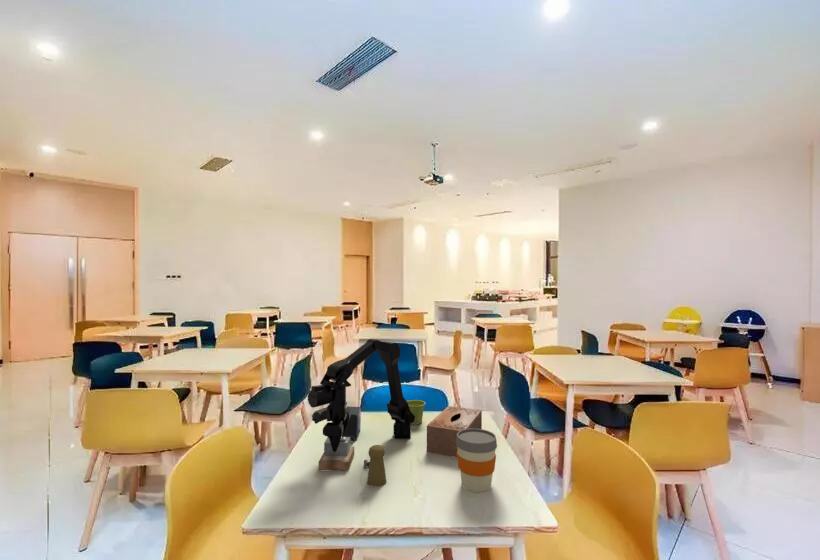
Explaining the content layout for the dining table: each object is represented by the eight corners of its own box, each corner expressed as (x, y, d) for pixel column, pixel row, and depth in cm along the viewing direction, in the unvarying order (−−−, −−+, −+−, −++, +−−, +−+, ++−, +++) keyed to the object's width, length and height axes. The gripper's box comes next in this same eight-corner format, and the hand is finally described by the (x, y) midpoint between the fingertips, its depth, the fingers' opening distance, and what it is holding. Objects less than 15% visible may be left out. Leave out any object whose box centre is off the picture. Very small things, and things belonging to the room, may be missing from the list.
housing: (327, 449, 138) (327, 434, 138) (350, 449, 138) (350, 435, 138) (324, 455, 133) (324, 440, 133) (347, 456, 133) (347, 440, 133)
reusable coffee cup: (467, 470, 129) (467, 425, 129) (503, 481, 122) (503, 433, 122) (448, 486, 119) (448, 437, 119) (486, 499, 112) (486, 447, 112)
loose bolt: (380, 462, 135) (380, 456, 135) (381, 465, 133) (382, 459, 133) (363, 465, 133) (363, 458, 133) (365, 468, 131) (365, 461, 131)
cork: (371, 488, 118) (371, 452, 118) (364, 479, 123) (364, 444, 123) (389, 483, 121) (389, 448, 121) (381, 475, 126) (381, 441, 126)
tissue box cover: (464, 459, 138) (464, 431, 138) (426, 452, 144) (426, 425, 144) (481, 434, 161) (481, 410, 161) (448, 429, 167) (448, 405, 167)
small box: (357, 441, 154) (357, 414, 154) (340, 440, 154) (341, 414, 154) (361, 431, 164) (361, 406, 164) (345, 430, 164) (346, 406, 164)
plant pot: (403, 425, 171) (403, 405, 171) (406, 418, 180) (406, 399, 180) (424, 426, 169) (424, 406, 169) (426, 419, 179) (426, 400, 179)
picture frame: (354, 454, 141) (354, 445, 141) (348, 470, 129) (348, 460, 129) (326, 454, 141) (326, 445, 141) (318, 470, 129) (318, 460, 129)
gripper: (321, 393, 145) (320, 435, 145) (307, 409, 126) (306, 457, 126) (350, 393, 145) (350, 435, 144) (341, 409, 126) (341, 457, 126)
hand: (337, 445), depth 135 cm, fingers open, 9 cm apart
